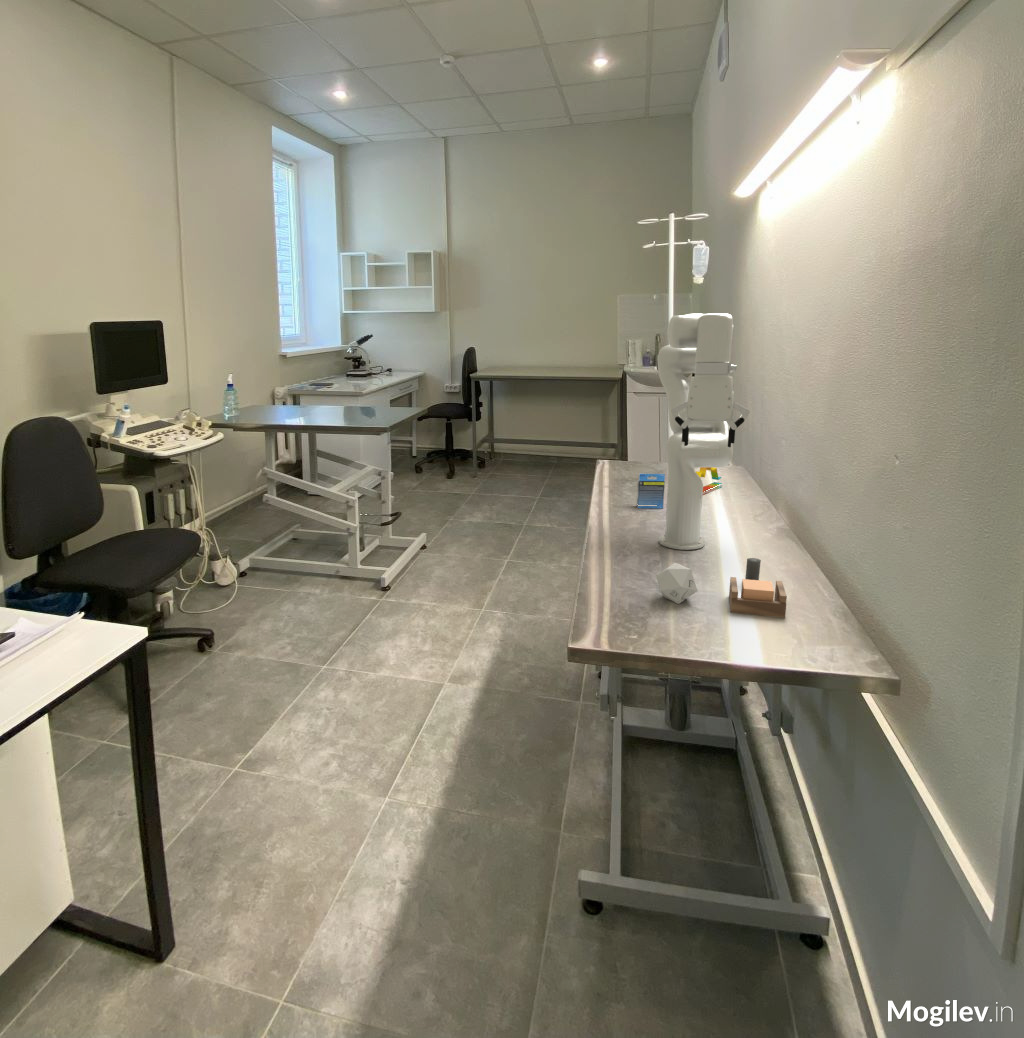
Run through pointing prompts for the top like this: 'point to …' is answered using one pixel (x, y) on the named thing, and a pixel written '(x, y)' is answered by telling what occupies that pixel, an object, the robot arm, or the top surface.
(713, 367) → the robot arm
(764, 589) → the block
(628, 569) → the top surface
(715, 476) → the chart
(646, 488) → the label tape box
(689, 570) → the die
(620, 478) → the top surface
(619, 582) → the top surface
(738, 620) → the top surface
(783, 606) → the shelf lane
